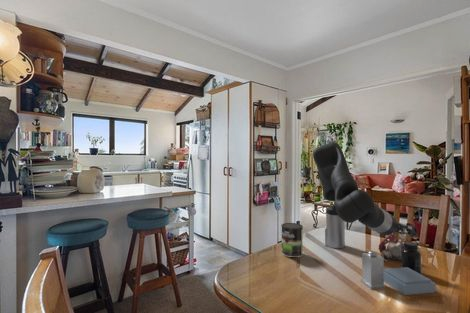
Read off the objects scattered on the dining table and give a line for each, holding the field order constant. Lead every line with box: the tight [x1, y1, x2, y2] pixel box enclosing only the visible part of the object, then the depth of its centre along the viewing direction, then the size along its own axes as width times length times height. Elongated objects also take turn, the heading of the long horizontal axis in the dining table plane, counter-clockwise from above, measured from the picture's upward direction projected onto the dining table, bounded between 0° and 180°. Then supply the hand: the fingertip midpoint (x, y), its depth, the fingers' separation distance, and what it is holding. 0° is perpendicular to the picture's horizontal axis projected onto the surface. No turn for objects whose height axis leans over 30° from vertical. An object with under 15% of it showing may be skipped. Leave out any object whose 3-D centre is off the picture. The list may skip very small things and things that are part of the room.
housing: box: [360, 250, 386, 290], centre depth 94 cm, size 6×6×12 cm
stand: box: [384, 267, 436, 296], centre depth 94 cm, size 12×12×4 cm
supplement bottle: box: [400, 241, 423, 275], centre depth 103 cm, size 7×7×12 cm
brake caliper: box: [378, 233, 404, 262], centre depth 118 cm, size 11×11×12 cm
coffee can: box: [281, 222, 304, 258], centre depth 125 cm, size 10×10×14 cm
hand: (399, 232), depth 91 cm, fingers open, 8 cm apart
